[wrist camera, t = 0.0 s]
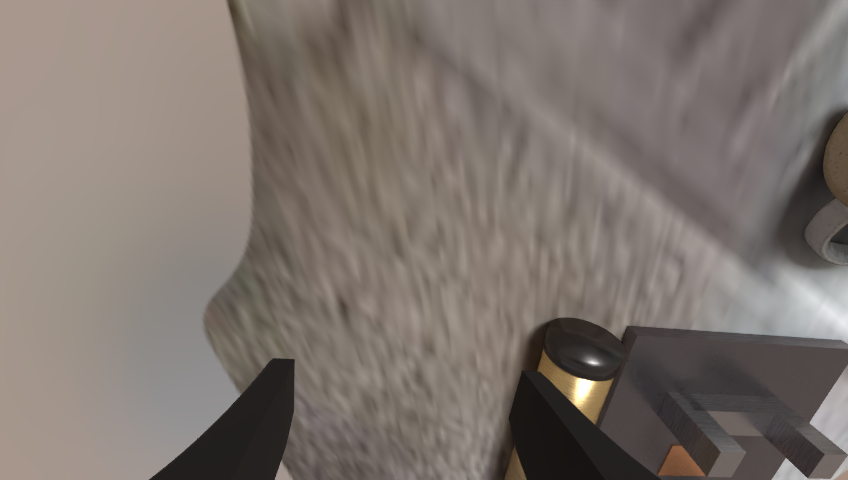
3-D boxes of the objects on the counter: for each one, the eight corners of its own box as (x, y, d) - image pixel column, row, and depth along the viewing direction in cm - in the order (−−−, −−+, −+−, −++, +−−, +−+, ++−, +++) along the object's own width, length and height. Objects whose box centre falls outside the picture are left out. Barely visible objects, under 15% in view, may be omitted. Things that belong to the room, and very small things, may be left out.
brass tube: (541, 490, 30) (563, 551, 26) (488, 489, 30) (503, 551, 26) (601, 320, 24) (641, 365, 21) (537, 315, 24) (566, 360, 20)
